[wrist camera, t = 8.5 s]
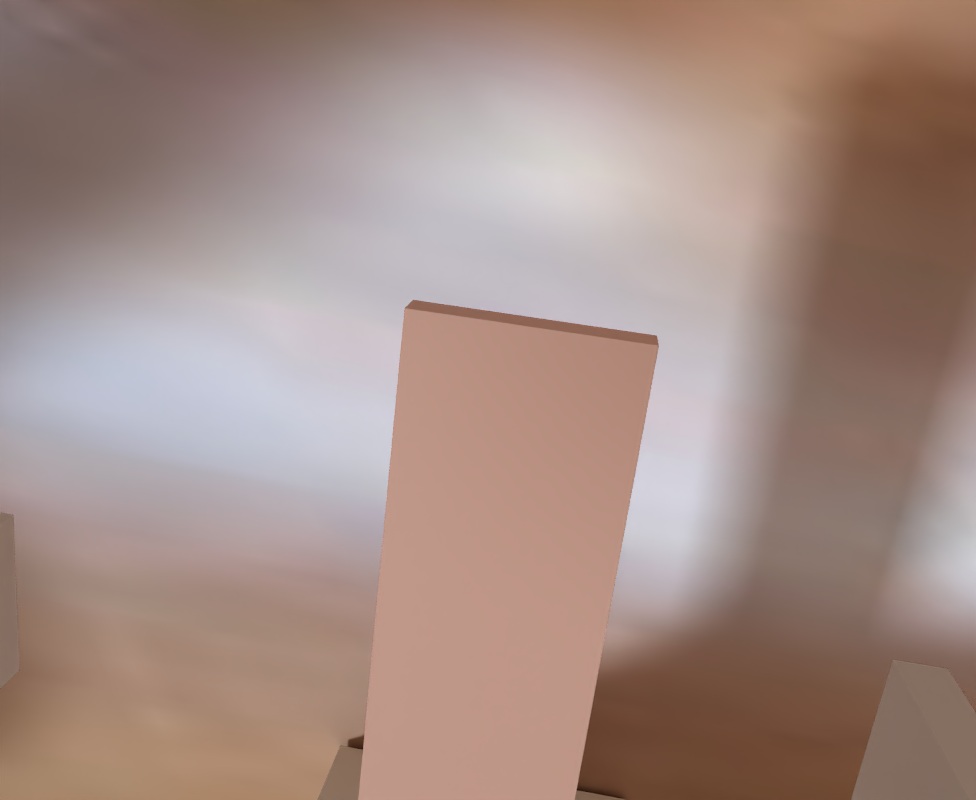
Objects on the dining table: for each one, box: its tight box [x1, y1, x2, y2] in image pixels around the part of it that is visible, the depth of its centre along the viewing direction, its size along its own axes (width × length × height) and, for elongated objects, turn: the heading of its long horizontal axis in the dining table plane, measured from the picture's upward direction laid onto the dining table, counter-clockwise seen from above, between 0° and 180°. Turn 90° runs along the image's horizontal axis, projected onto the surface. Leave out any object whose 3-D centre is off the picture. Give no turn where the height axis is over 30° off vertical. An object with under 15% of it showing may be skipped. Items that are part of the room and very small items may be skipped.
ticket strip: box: [358, 300, 659, 800], centre depth 26 cm, size 6×24×1 cm, turn 173°
